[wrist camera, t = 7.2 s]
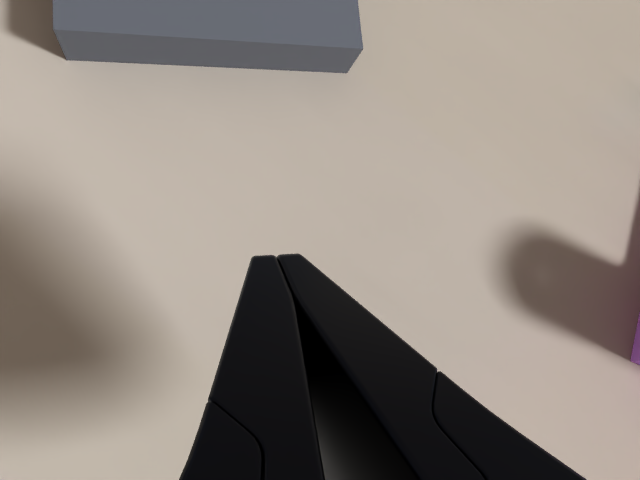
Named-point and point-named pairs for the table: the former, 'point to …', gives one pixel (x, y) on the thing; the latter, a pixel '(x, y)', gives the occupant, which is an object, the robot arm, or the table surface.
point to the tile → (212, 33)
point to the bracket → (636, 345)
